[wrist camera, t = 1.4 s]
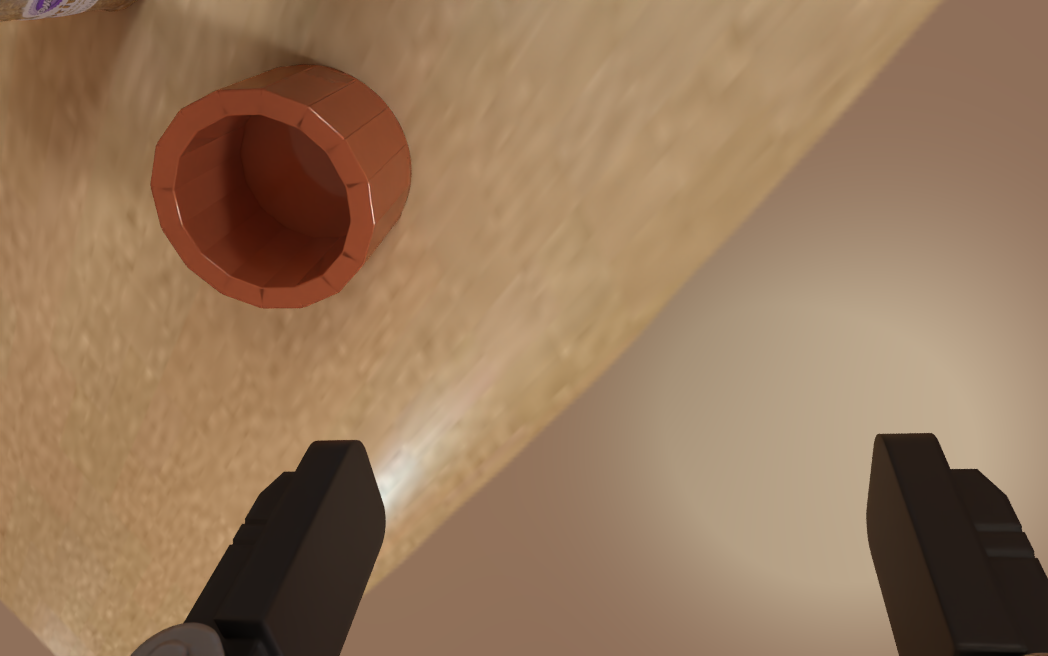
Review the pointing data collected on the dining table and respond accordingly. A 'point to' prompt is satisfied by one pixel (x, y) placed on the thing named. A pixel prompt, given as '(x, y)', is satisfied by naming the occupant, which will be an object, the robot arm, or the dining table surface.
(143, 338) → the dining table surface
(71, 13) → the sprinkles bottle
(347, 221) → the cup
